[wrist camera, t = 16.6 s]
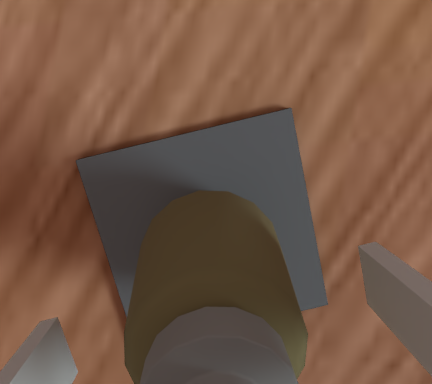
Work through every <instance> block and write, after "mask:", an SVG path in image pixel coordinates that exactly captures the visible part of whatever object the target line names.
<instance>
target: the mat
mask: <svg viewBox="0 0 432 384" xmlns="http://www.w3.org/2000/svg"><path fill="white" fill-rule="evenodd" d="M76 163H77V166H78V170H79V173H80V176H81V179H82V182H83V185H84V188H85V191H86V194H87V197H88V200H89V203H90V206H91V209H92V212H93V215H94V219H95V222H96V225H97V228H98V231H99V234H100V237H101V240H102V243H103V246H104V249H105V252H106V255H107V258H108V261H109V265H110V268H111V271H112V274H113V277H114V280H115V283H116V286H117V289H118V292H119V295H120V298H121V301H122V304H123V307H124V310H125V314H126V317H127V315H128V309H129V304H130V299H131V294H132V289H133V283H134V278H135V273H136V268H137V263H138V258H139V252H140V247H141V243H142V241H143V239H144V236H145V234H146V232H147V229H148V227H149V225H150V223H151V220H152V219H153V218H154V217H155V216H156V215H157V214H158V213H159V212H160V211H161V210H163V209H164V208H165V207H166V206H167V205H168V204H169V203H170V202H171V201H172V200H175V199H177V198H180V197H183V196H186V195H188V194H191V193H194V192H196V191H199V190H203V191H229V192H231V193H233V194H235V195H238V196H240V197H242V198H244V199H247V200H249V201H251V202H253V203H254V204H255V205H256V206H257V207H258V208H259V209H260V210H261V211H262V212H263V213H264V214H265V215H266V216H267V217H268V219H269V220H270V221H271V222H272V223H273V226H274V229H275V232H276V235H277V238H278V241H279V243H280V246H281V249H282V253H283V256H284V259H285V262H286V265H287V269H288V272H289V275H290V278H291V281H292V285H293V288H294V291H295V294H296V297H297V301H298V304H299V307H300V310H301V311H303V310H307V309H312V308H316V307H320V306H324V305H328V302H327V297H326V292H325V286H324V281H323V275H322V270H321V265H320V259H319V254H318V249H317V243H316V238H315V233H314V227H313V222H312V216H311V211H310V206H309V200H308V195H307V190H306V184H305V179H304V173H303V168H302V163H301V157H300V152H299V147H298V141H297V136H296V130H295V125H294V120H293V114H292V109H291V108H288V109H284V110H280V111H276V112H272V113H267V114H263V115H259V116H255V117H251V118H247V119H243V120H239V121H235V122H230V123H226V124H222V125H218V126H214V127H210V128H206V129H202V130H198V131H194V132H189V133H185V134H181V135H177V136H173V137H169V138H165V139H161V140H157V141H152V142H148V143H144V144H140V145H136V146H132V147H128V148H124V149H120V150H115V151H111V152H107V153H103V154H99V155H95V156H91V157H87V158H83V159H79V160H76Z"/></svg>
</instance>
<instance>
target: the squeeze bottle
mask: <svg viewBox="0 0 432 384" xmlns="http://www.w3.org/2000/svg"><path fill="white" fill-rule="evenodd" d="M307 339H308V333H307V329H306V326H305V323H304V320H303V317H302V313H301V310H300V307H299V304H298V301H297V297H296V294H295V291H294V288H293V285H292V281H291V278H290V275H289V272H288V269H287V265H286V262H285V259H284V256H283V253H282V249H281V246H280V243H279V241H278V238H277V235H276V232H275V229H274V226H273V223H272V222H271V221H270V220H269V219H268V217H267V216H266V215H265V214H264V213H263V212H262V211H261V210H260V209H259V208H258V207H257V206H256V205H255V204H254V203H253V202H251V201H249V200H247V199H244V198H242V197H240V196H238V195H235V194H233V193H231V192H229V191H203V190H199V191H196V192H194V193H191V194H188V195H186V196H183V197H180V198H177V199H175V200H172V201H171V202H170V203H169V204H168V205H167V206H166V207H165V208H164V209H163V210H161V211H160V212H159V213H158V214H157V215H156V216H155V217H154V218H153V219H152V220H151V223H150V225H149V227H148V229H147V232H146V234H145V236H144V239H143V241H142V243H141V247H140V252H139V258H138V263H137V268H136V273H135V278H134V283H133V289H132V294H131V299H130V304H129V309H128V315H127V320H126V325H125V330H124V350H125V366H126V368H127V370H128V372H129V374H130V376H131V378H132V380H133V382H134V384H298V381H297V378H298V377H299V375H300V373H301V371H302V370H303V368H304V366H305V358H306V348H307Z"/></svg>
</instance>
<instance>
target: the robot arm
mask: <svg viewBox="0 0 432 384" xmlns="http://www.w3.org/2000/svg"><path fill="white" fill-rule="evenodd" d="M358 248H359V254H360V260H361V266H362V273H363V279H364V285H365V291H366V297H367V304H368V305H369V306H370V307H371V308H372V309H373V310H374V312H375V313H376V314H377V315H378V316H379V317H380V318H381V320H382V321H383V322H384V323H385V324H386V325H387V326H388V327H389V329H390V330H391V331H392V332H393V333H394V334H395V335H396V337H397V338H398V339H399V340H400V341H401V342H402V343H403V344H404V346H405V347H406V348H407V349H408V350H409V351H410V352H411V353H412V355H413V356H414V357H415V358H416V359H417V360H418V361H419V363H420V364H421V365H422V366H423V367H424V368H425V369H426V370H427V372H428V373H429V374H430V375H431V376H432V282H431V281H430V280H429V279H427V278H426V277H424V276H423V275H422V274H420V273H419V272H417V271H416V270H415V269H413V268H412V267H411V266H409V265H408V264H406V263H405V262H404V261H402V260H401V259H399V258H398V257H397V256H395V255H394V254H392V253H391V252H390V251H388V250H387V249H385V248H384V247H383V246H381V245H380V244H378V243H377V242H373V243H368V244H364V245H360V246H358ZM77 373H78V371H77V368H76V365H75V363H74V360H73V357H72V355H71V352H70V349H69V347H68V344H67V341H66V339H65V336H64V333H63V330H62V328H61V325H60V322H59V320H58V317H57V318H52V319H48V320H44V321H40V322H39V324H38V325H37V326H36V327H35V329H34V330H33V331H32V332H31V334H30V335H29V336H28V337H27V339H26V340H25V341H24V342H23V344H22V345H21V346H20V347H19V349H18V350H17V351H16V353H15V354H14V355H13V356H12V358H11V359H10V360H9V361H8V363H7V364H6V365H5V366H4V368H3V369H2V370H1V371H0V384H72V383H73V381H74V379H75V377H76V375H77Z"/></svg>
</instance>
